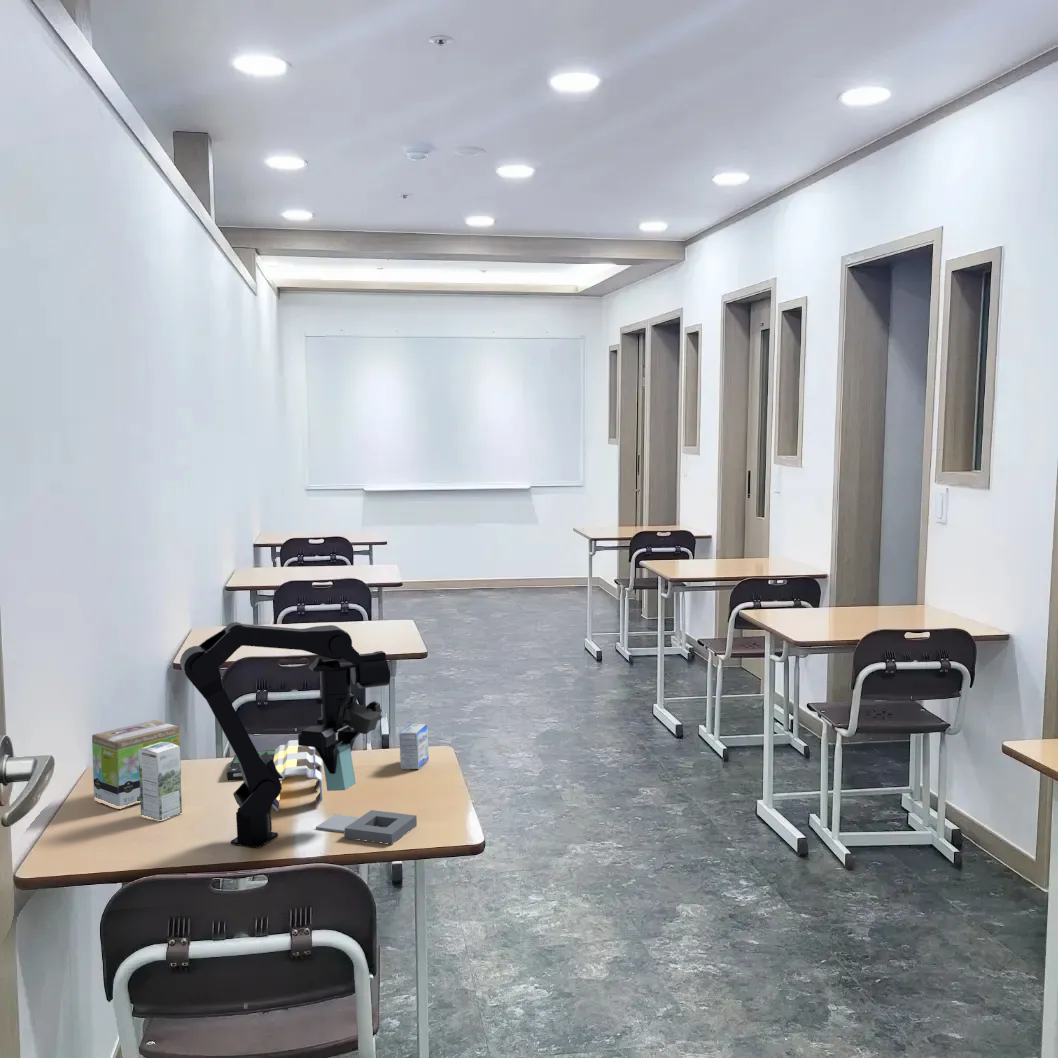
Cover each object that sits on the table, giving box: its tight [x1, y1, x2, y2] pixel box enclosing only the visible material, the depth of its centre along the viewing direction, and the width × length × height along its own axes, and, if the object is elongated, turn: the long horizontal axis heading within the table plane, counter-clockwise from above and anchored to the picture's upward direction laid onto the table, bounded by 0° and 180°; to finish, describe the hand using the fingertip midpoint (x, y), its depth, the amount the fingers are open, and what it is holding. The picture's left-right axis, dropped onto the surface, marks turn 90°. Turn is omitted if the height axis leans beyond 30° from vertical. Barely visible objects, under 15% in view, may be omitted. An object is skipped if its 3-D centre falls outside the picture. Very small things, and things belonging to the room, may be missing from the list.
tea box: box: [91, 719, 182, 806], centre depth 219 cm, size 15×10×15 cm, turn 143°
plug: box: [322, 744, 357, 792], centre depth 199 cm, size 4×4×8 cm
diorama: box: [272, 739, 323, 812], centre depth 221 cm, size 25×10×13 cm, turn 12°
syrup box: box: [138, 742, 183, 820], centre depth 206 cm, size 6×6×14 cm
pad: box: [315, 814, 361, 833], centre depth 200 cm, size 7×7×1 cm
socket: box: [344, 809, 418, 845], centre depth 196 cm, size 10×10×2 cm
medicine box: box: [398, 723, 430, 770], centre depth 236 cm, size 8×4×9 cm, turn 168°
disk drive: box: [226, 749, 275, 782], centre depth 236 cm, size 10×3×15 cm
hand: (338, 770), depth 199 cm, fingers closed on plug, 4 cm apart
